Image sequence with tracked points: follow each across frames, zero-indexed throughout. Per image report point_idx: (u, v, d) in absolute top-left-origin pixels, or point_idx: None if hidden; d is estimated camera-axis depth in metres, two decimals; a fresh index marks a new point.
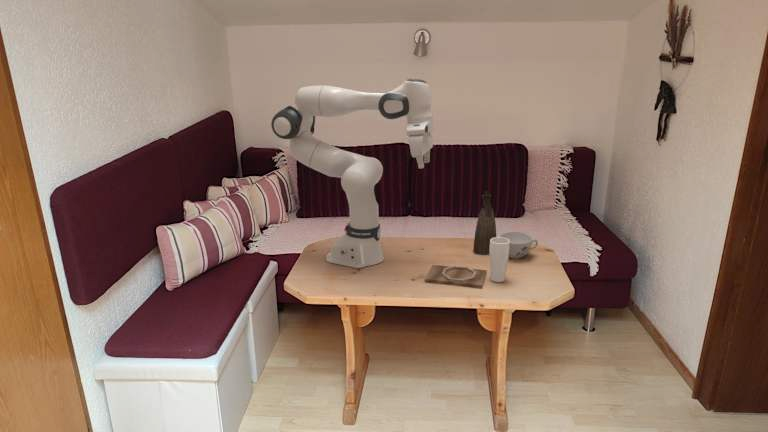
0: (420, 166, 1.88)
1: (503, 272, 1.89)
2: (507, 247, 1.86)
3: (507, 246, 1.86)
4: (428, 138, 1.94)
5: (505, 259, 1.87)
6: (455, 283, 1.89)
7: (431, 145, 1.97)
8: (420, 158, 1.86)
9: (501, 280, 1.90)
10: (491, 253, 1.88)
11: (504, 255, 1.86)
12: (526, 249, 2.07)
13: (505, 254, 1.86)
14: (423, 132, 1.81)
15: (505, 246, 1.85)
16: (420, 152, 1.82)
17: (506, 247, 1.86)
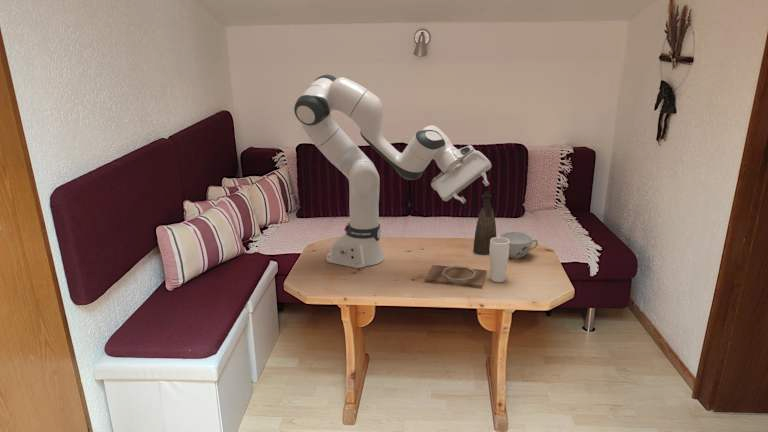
0: None
1: (503, 272, 1.89)
2: (507, 247, 1.86)
3: (507, 246, 1.86)
4: None
5: (505, 259, 1.87)
6: (455, 283, 1.89)
7: None
8: None
9: (501, 280, 1.90)
10: (491, 253, 1.88)
11: (504, 255, 1.86)
12: (526, 249, 2.07)
13: (505, 254, 1.86)
14: None
15: (505, 246, 1.85)
16: None
17: (506, 247, 1.86)
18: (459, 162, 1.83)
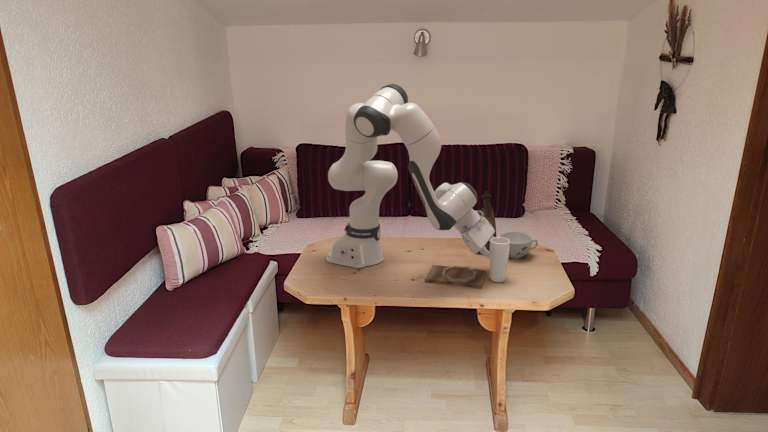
0: None
1: (503, 272, 1.89)
2: (507, 247, 1.86)
3: (507, 246, 1.86)
4: None
5: (505, 259, 1.87)
6: (455, 283, 1.89)
7: None
8: None
9: (501, 280, 1.90)
10: None
11: (504, 255, 1.86)
12: (526, 249, 2.07)
13: (505, 254, 1.86)
14: None
15: (505, 246, 1.85)
16: None
17: (506, 248, 1.86)
18: None
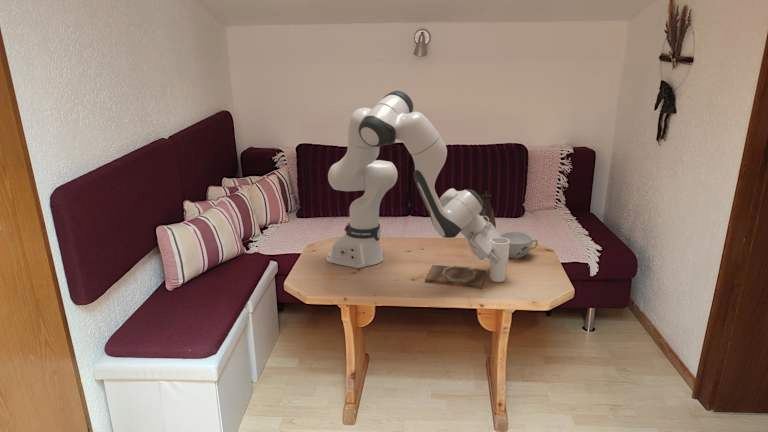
0: None
1: (503, 272, 1.89)
2: (507, 247, 1.86)
3: (507, 246, 1.86)
4: None
5: (505, 259, 1.87)
6: (455, 283, 1.89)
7: None
8: None
9: (501, 280, 1.90)
10: None
11: (504, 255, 1.86)
12: (526, 249, 2.07)
13: (505, 254, 1.86)
14: None
15: (505, 246, 1.85)
16: None
17: (506, 247, 1.86)
18: None
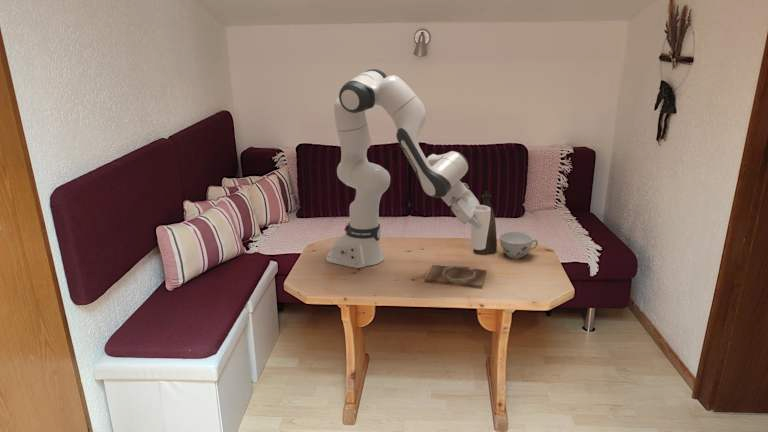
0: None
1: (484, 240, 1.91)
2: (489, 214, 1.88)
3: (489, 213, 1.88)
4: None
5: (487, 226, 1.89)
6: (455, 283, 1.89)
7: None
8: None
9: (482, 248, 1.92)
10: None
11: (486, 222, 1.88)
12: (526, 249, 2.07)
13: (487, 221, 1.88)
14: None
15: (487, 213, 1.87)
16: None
17: (488, 215, 1.87)
18: None
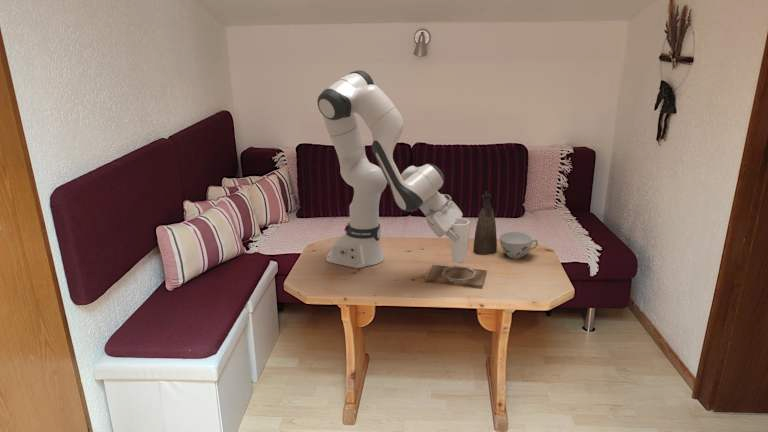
0: None
1: (464, 253, 1.89)
2: (467, 228, 1.85)
3: (467, 227, 1.85)
4: None
5: (465, 240, 1.87)
6: (455, 283, 1.89)
7: None
8: None
9: (462, 261, 1.90)
10: None
11: (464, 236, 1.86)
12: (526, 249, 2.07)
13: (465, 235, 1.86)
14: None
15: (464, 227, 1.84)
16: None
17: (466, 228, 1.85)
18: None
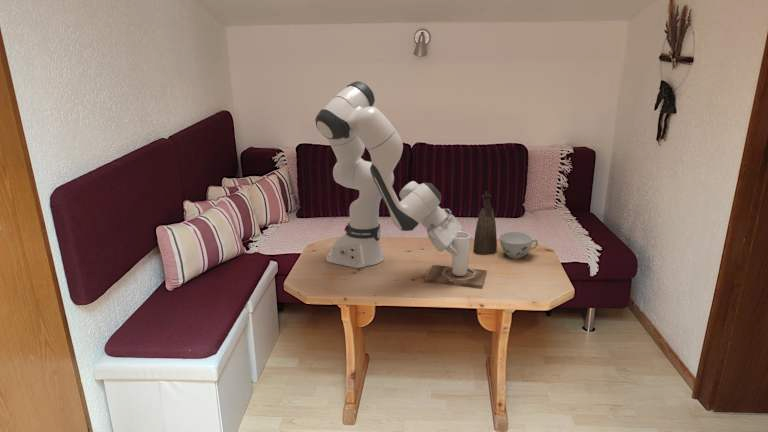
0: None
1: (464, 266, 1.92)
2: (468, 242, 1.88)
3: (468, 241, 1.88)
4: None
5: (466, 253, 1.90)
6: (455, 283, 1.89)
7: None
8: None
9: (462, 274, 1.93)
10: None
11: (465, 249, 1.89)
12: (526, 249, 2.07)
13: (466, 248, 1.89)
14: None
15: (466, 241, 1.87)
16: None
17: (467, 242, 1.88)
18: None
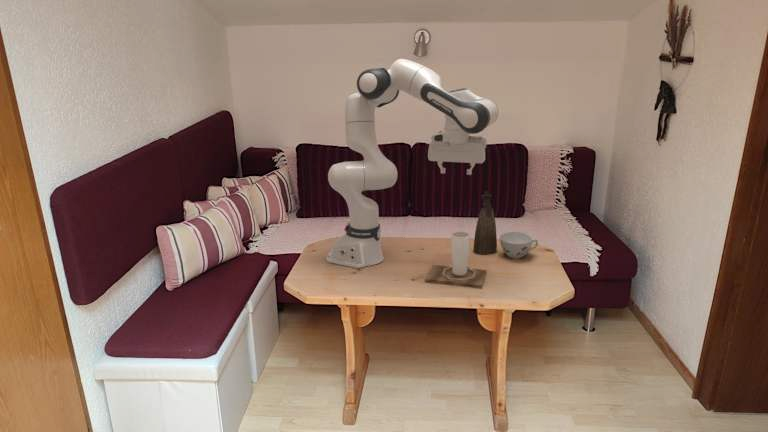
0: None
1: (464, 266, 1.92)
2: (468, 241, 1.89)
3: (468, 240, 1.89)
4: (467, 151, 1.90)
5: (466, 253, 1.90)
6: (455, 283, 1.89)
7: (474, 160, 1.90)
8: None
9: (463, 274, 1.93)
10: (452, 247, 1.91)
11: (465, 249, 1.89)
12: (526, 249, 2.07)
13: (466, 248, 1.89)
14: None
15: (465, 240, 1.88)
16: (428, 156, 1.95)
17: (467, 241, 1.89)
18: None
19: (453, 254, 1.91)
